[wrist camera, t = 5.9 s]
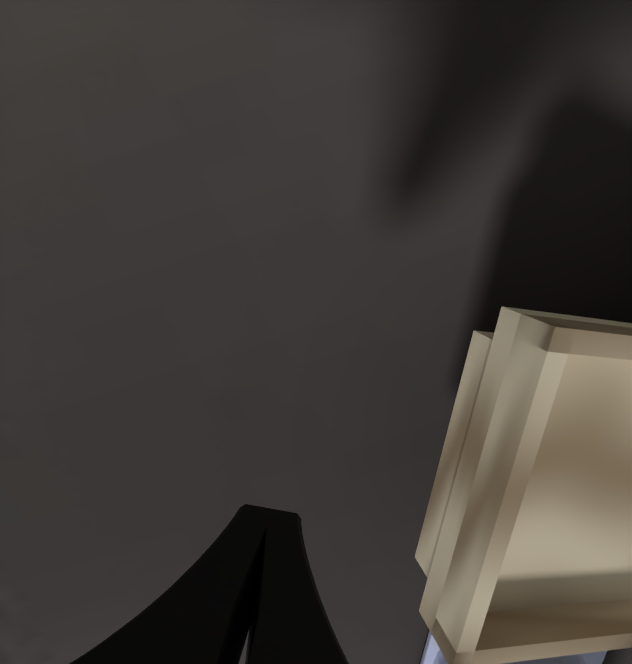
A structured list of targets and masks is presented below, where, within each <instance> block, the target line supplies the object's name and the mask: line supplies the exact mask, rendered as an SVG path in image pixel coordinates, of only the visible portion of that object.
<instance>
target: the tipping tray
mask: <svg viewBox="0 0 632 664" xmlns="http://www.w3.org/2000/svg"><path fill="white" fill-rule="evenodd" d="M415 558H416V560H417V561H418V563H419V565H420V566H421V568H422V569H423V571H424V573H425V574H426V576H427V578H428V579H427V583H426V587H425V591H424V594H423V598H422V602H421V605H420V609H419V612H420V614H421V615H422V617H423V619H424V621H425V623H426V625H427V626H428V628H429V630H430V632H431V634H432V636H433V637H434V639H435V641H436V643H437V645H438V647H439V648H440V650H441V652H442V654H443V656H444V658H445V659H446V661H447V663H448V664H503V663H511V662H519V661H527V660H535V659H543V658H551V657H559V656H567V655H575V654H583V653H592V652H600V651H608V650H616V649H624V648H632V323H627V322H619V321H611V320H603V319H595V318H588V317H580V316H572V315H564V314H557V313H549V312H541V311H533V310H526V309H518V308H510V307H501V310H500V314H499V318H498V321H497V325H496V329H495V332H494V333H493V332H483V331H473V335H472V339H471V343H470V346H469V350H468V354H467V358H466V362H465V366H464V370H463V373H462V377H461V381H460V385H459V389H458V393H457V397H456V400H455V404H454V408H453V412H452V416H451V420H450V424H449V427H448V431H447V435H446V439H445V443H444V447H443V450H442V454H441V458H440V462H439V466H438V470H437V474H436V477H435V481H434V485H433V489H432V493H431V497H430V501H429V504H428V508H427V512H426V516H425V520H424V524H423V528H422V531H421V535H420V539H419V543H418V547H417V551H416V554H415Z"/></svg>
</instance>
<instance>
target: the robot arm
mask: <svg viewBox="0 0 632 664" xmlns="http://www.w3.org/2000/svg"><path fill="white" fill-rule="evenodd" d="M248 631H249V635H248V644H247V652H246V661H245V664H349V663H348V661H347V659H346V657H345V655H344V653H343V651H342V649H341V647H340V645H339V643H338V640H337V638H336V636H335V634H334V631H333V629H332V627H331V624H330V622H329V620H328V617H327V615H326V612H325V609H324V607H323V604H322V602H321V599H320V596H319V593H318V591H317V588H316V585H315V581H314V578H313V575H312V572H311V568H310V565H309V561H308V558H307V554H306V549H305V545H304V540H303V535H302V527H301V518H300V517H299V515H298V514H297V513H292V512H286V511H281V510H275V509H270V508H264V507H259V506H253V505H248V504H245V505H243V506H242V507H240V508H239V510H238V512H237V513H236V515H235V516H234V517H233V519H232V520H231V522H230V523H229V524H228V526H227V527H226V528H225V529H224V531H223V532H222V533H221V534H220V536H219V537H218V538H217V539H216V540H215V541H214V543H213V544H212V545H211V546H210V547H209V548H208V549H207V550H206V552H205V553H204V554H203V555H202V556H201V557H200V558H199V559H198V560H197V561H196V562H195V563H194V565H192V566H191V567H190V568H189V569H188V570H187V571H186V572H185V573H184V574H183V575H182V576H181V577H180V578H179V579H178V580H177V581H176V582H175V583H174V584H173V585H172V586H171V587H170V588H169V589H168V590H167V591H166V592H164V593H163V594H162V595H161V596H160V597H159V598H158V599H157V600H155V601H154V602H153V603H152V604H151V605H150V606H148V607H147V608H146V609H145V610H143V611H142V612H141V613H140V614H139V615H137V616H136V617H135V618H134V619H132V620H131V621H130V622H128V623H127V624H126V625H124V626H123V627H122V628H120V629H119V630H118V631H116V632H115V633H114V634H112V635H111V636H110V637H108V638H107V639H106V640H104V641H103V642H101V643H100V644H99V645H97V646H96V647H94V648H93V649H91V650H90V651H88V652H87V653H86V654H84V655H83V656H81V657H79V658H78V659H76V660H75V661H73V662H71V663H70V664H239V660H240V657H241V654H242V650H243V647H244V644H245V641H246V637H247V634H248ZM606 653H607V651H600V652H592V653H583V654H575V655H567V656H559V657H551V658H543V659H535V660H527V661H519V662H511V663H503V664H602V663H603V660H604V658H605V655H606ZM420 664H448V663H447V661H446V659H445V658H444V656H443V654H442V652H441V650H440V648H439V647H438V645H437V643H436V641H435V639H434V637H433V636H432V634H431V632H430V631H429V634H428V638H427V641H426V645H425V648H424V652H423V656H422V659H421V663H420Z"/></svg>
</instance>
